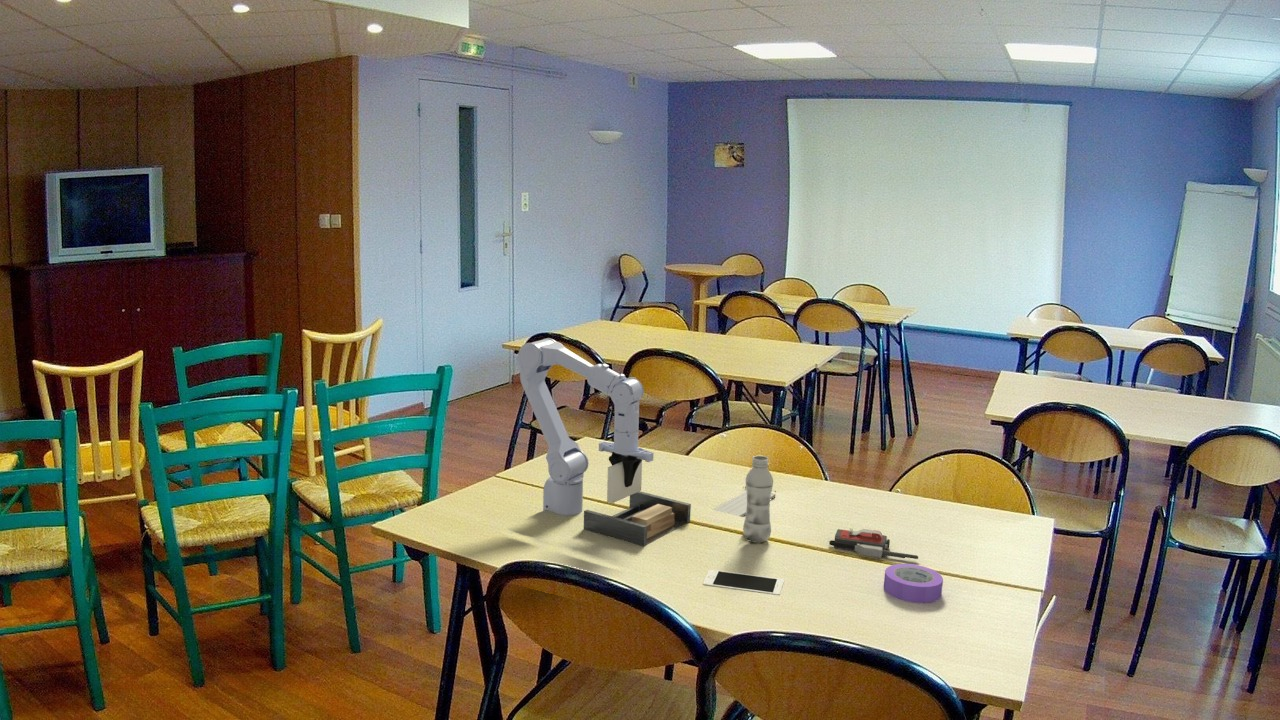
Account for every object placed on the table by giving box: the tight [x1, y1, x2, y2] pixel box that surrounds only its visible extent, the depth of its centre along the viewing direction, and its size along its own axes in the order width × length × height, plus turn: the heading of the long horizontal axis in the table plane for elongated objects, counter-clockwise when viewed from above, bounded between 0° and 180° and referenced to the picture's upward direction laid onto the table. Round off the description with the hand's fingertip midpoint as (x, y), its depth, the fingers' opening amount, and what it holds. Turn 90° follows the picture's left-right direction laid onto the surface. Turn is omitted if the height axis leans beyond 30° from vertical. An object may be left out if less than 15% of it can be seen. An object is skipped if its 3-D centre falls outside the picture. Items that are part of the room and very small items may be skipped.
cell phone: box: [702, 569, 785, 596], centre depth 207 cm, size 8×16×1 cm, turn 75°
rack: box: [583, 490, 692, 547], centre depth 234 cm, size 17×20×6 cm
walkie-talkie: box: [828, 528, 919, 560], centre depth 226 cm, size 9×4×20 cm
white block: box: [606, 460, 643, 504], centre depth 235 cm, size 2×12×8 cm, turn 146°
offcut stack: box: [632, 504, 674, 538], centre depth 232 cm, size 4×12×4 cm, turn 146°
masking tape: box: [883, 563, 944, 604], centre depth 205 cm, size 12×12×4 cm
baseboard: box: [711, 485, 777, 518], centre depth 251 cm, size 30×3×10 cm
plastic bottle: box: [742, 455, 774, 543], centre depth 229 cm, size 6×7×20 cm
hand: (624, 485), depth 235 cm, fingers closed on white block
